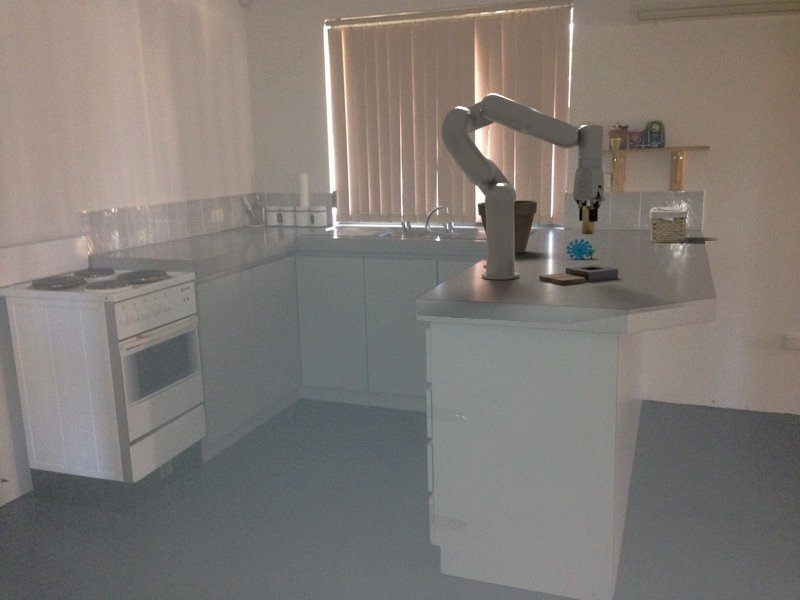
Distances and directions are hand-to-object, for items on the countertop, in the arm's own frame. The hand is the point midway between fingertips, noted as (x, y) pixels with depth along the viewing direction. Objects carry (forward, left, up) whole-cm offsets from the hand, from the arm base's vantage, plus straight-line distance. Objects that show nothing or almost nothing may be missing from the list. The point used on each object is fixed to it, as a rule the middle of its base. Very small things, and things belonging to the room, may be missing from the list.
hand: (588, 220), depth 234 cm
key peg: (0, 0, -4) cm, 4 cm away
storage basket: (-64, +100, -19) cm, 120 cm away
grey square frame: (0, +2, -19) cm, 19 cm away
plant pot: (-73, +17, -19) cm, 77 cm away
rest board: (+1, -11, -19) cm, 22 cm away
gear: (-38, +28, -19) cm, 51 cm away
